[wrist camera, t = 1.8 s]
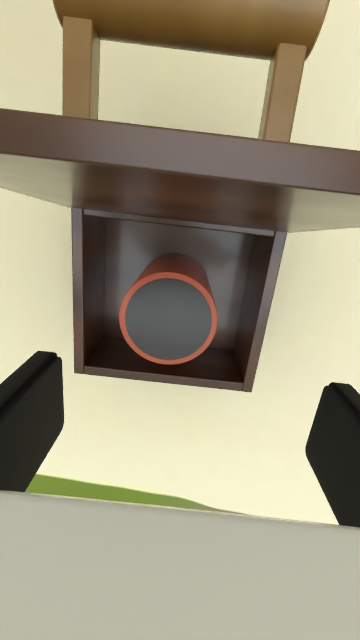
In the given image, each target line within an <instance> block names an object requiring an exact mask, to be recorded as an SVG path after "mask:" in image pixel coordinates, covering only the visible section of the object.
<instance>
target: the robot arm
mask: <svg viewBox="0 0 360 640" xmlns="http://www.w3.org/2000/svg"><path fill="white" fill-rule="evenodd" d="M63 424H64V404H63V377H62V359H61V358H60V357H57V354H56V353H54V352H45V351H37V352H36V353H35V354H34V355H33V356H31V357H30V358H29V359H28V360H27V361H26V362H25V363H24V364H22V365H21V366H20V367H19V368H18V369H17V370H16V371H15V372H13V373H12V374H11V375H10V376H9V377H8V378H7V379H6V380H4V381H3V382H2V383H1V384H0V640H360V394H359V393H358V392H357V391H356V390H355V389H354V388H353V387H352V386H351V385H350V384H343V383H334V382H332V383H330V384H329V386H325V387H324V389H323V392H322V395H321V398H320V402H319V405H318V408H317V411H316V415H315V418H314V421H313V424H312V428H311V431H310V434H309V437H308V441H307V444H306V456H307V459H308V461H309V463H310V465H311V467H312V469H313V471H314V473H315V475H316V477H317V479H318V481H319V484H320V486H321V488H322V490H323V492H324V494H325V496H326V498H327V500H328V502H329V504H330V506H331V509H332V511H333V513H334V515H335V517H336V519H337V521H338V523H339V525H333V524H324V523H315V522H306V521H297V520H288V519H280V518H271V517H262V516H252V515H243V514H234V513H224V512H215V511H206V510H196V509H187V508H177V507H167V506H158V505H148V504H139V503H129V502H119V501H108V500H99V499H89V498H79V497H68V496H59V495H48V494H37V493H27V492H25V490H26V489H27V487H28V486H29V484H30V482H31V481H32V479H33V477H34V476H35V474H36V472H37V471H38V469H39V467H40V466H41V464H42V462H43V461H44V459H45V457H46V456H47V454H48V452H49V451H50V449H51V447H52V446H53V444H54V442H55V441H56V439H57V437H58V436H59V434H60V432H61V430H62V428H63Z"/></svg>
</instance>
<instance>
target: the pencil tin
mask: <svg viewBox="0 0 360 640" xmlns="http://www.w3.org/2000/svg"><path fill="white" fill-rule="evenodd" d="M119 322H120V328H121V331H122V334H123V336H124V338H125V340H126V341H127V343H128V344H129V346H130V347H131V348H132V349H133V350H134V351H135V352H136V353H138V354H139V355H140V356H142V357H143V358H145V359H147V360H149V361H152V362H155V363H159V364H168V365H170V364H180V363H184V362H187V361H189V360H192V359H194V358H195V357H197V356H198V355H200V354H201V353H202V352H203V351H204V350H205V349H206V348H207V347H208V346H209V345H210V343H211V342H212V340H213V338H214V336H215V333H216V330H217V324H218V314H217V308H216V305H215V301H214V298H213V295H212V291H211V288H210V285H209V281H208V278H207V275H206V273H205V271H204V269H203V268H202V266H201V265H200V264H199V263H198V262H197V261H196V260H194V259H193V258H191V257H189V256H187V255H184V254H180V253H168V254H164V255H161V256H159V257H157V258H155V259H154V260H152V261H151V262H150V263H149V264H148V265H147V267H146V268H145V269H144V270H143V272H142V273H141V274H140V276H139V277H138V278H137V280H136V281H135V282H134V283H133V285H132V286H131V287H130V289H129V290H128V291H127V293H126V294H125V296H124V298H123V300H122V303H121V306H120V312H119Z"/></svg>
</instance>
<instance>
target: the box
mask: <svg viewBox="0 0 360 640" xmlns="http://www.w3.org/2000/svg"><path fill="white" fill-rule="evenodd" d="M71 213H72V270H73V326H74V373H79V374H88V375H97V376H106V377H116V378H125V379H134V380H143V381H153V382H162V383H171V384H180V385H190V386H199V387H208V388H218V389H227V390H236V391H244V392H252V387H253V383H254V378H255V374H256V369H257V365H258V361H259V356H260V352H261V347H262V343H263V338H264V334H265V329H266V325H267V320H268V316H269V311H270V307H271V303H272V298H273V294H274V289H275V285H276V280H277V276H278V271H279V267H280V262H281V258H282V253H283V249H284V245H285V240H286V236H287V232H279V231H270V230H261V229H253V228H244V227H235V226H227V225H218V224H209V223H200V222H192V221H183V220H174V219H166V218H157V217H148V216H139V215H131V214H122V213H113V212H105V211H96V210H87V209H78V208H71ZM168 253H180V254H184V255H187V256H189V257H191V258H193V259H194V260H196V261H197V262H198V263H199V264H200V265H201V266H202V268H203V269H204V271H205V273H206V275H207V278H208V281H209V285H210V288H211V291H212V295H213V298H214V301H215V305H216V308H217V314H218V324H217V330H216V333H215V336H214V338H213V340H212V342H211V343H210V345H209V346H208V347H207V348H206V349H205V350H204V351H203V352H202V353H201V354H200V355H198V356H197V357H195V358H194V359H192V360H189V361H187V362H184V363H180V364H170V365H168V364H159V363H155V362H152V361H149V360H147V359H145V358H143V357H142V356H140V355H139V354H138V353H136V352H135V351H134V350H133V349H132V348H131V347H130V346H129V344H128V343H127V341H126V340H125V338H124V336H123V334H122V331H121V328H120V322H119V312H120V306H121V303H122V300H123V298H124V296H125V294H126V293H127V291H128V290H129V289H130V287H131V286H132V285H133V283H134V282H135V281H136V280H137V278H138V277H139V276H140V274H141V273H142V272H143V270H144V269H145V268H146V267H147V265H148V264H149V263H150V262H151V261H152V260H154V259H155V258H157V257H159V256H161V255H164V254H168Z"/></svg>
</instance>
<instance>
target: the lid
mask: <svg viewBox="0 0 360 640" xmlns="http://www.w3.org/2000/svg"><path fill="white" fill-rule="evenodd" d="M329 2H330V0H53V4H54V7H55V11H56V14H57V17H58V19H59V22H60V24H61V26H62V28H63V116H62V115H53V114H45V113H36V112H28V111H20V110H11V109H3V108H0V188H3V189H6V190H10V191H13V192H17V193H20V194H24V195H27V196H31V197H34V198H38V199H41V200H45V201H48V202H52V203H55V204H59V205H62V206H66V207H70V208H78V209H87V210H96V211H105V212H113V213H122V214H131V215H139V216H148V217H157V218H166V219H174V220H183V221H192V222H200V223H209V224H218V225H227V226H235V227H244V228H253V229H261V230H270V231H279V232H288V233H292V232H305V231H318V230H330V229H343V228H356V227H360V151H357V150H349V149H340V148H332V147H323V146H315V145H306V144H298V143H290V138H291V132H292V127H293V121H294V116H295V111H296V105H297V100H298V94H299V89H300V83H301V78H302V73H303V67H304V62H305V61H306V59H307V58H308V56H309V55H310V53H311V51H312V49H313V47H314V45H315V43H316V40H317V38H318V36H319V33H320V30H321V28H322V25H323V22H324V19H325V16H326V12H327V9H328V6H329ZM100 40H106V41H115V42H123V43H131V44H139V45H147V46H156V47H164V48H172V49H180V50H189V51H197V52H205V53H213V54H221V55H230V56H238V57H246V58H254V59H262V60H271V61H270V67H269V73H268V80H267V86H266V92H265V98H264V105H263V111H262V117H261V124H260V130H259V136H258V139H256V138H247V137H239V136H231V135H222V134H214V133H205V132H197V131H188V130H180V129H171V128H163V127H155V126H146V125H138V124H129V123H121V122H112V121H104V120H98V96H99V65H100Z"/></svg>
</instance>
